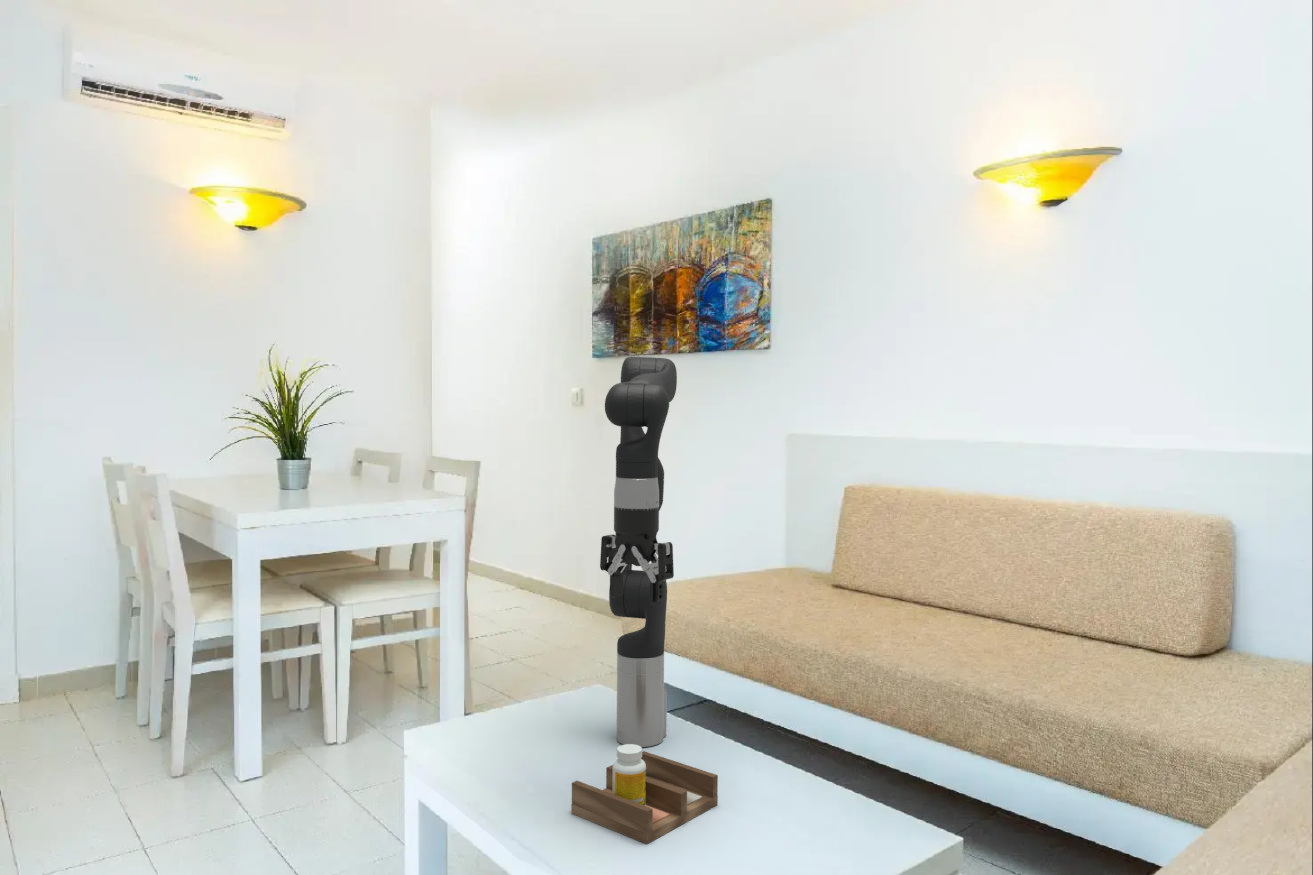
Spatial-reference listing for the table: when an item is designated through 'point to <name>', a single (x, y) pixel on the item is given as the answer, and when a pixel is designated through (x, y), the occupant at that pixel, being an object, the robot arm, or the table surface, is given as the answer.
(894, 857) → the table surface
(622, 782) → the supplement bottle
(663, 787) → the brown shelf rack
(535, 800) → the table surface
